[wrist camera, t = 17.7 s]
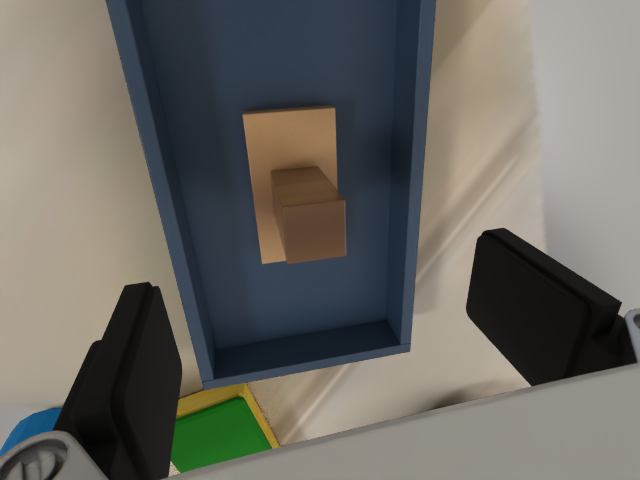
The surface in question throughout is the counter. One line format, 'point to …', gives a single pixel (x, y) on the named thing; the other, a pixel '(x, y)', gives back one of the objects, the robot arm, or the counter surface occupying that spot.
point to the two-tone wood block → (295, 183)
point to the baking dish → (235, 181)
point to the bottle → (31, 427)
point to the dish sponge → (218, 428)
